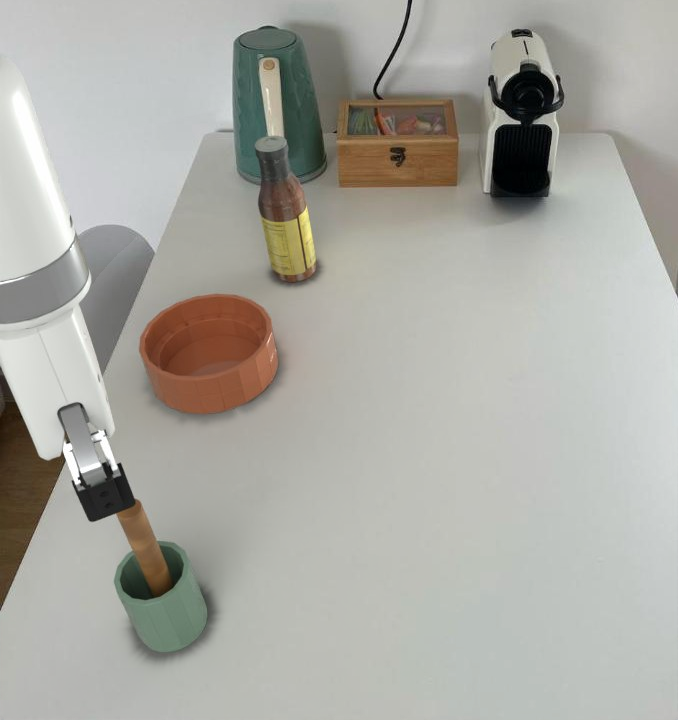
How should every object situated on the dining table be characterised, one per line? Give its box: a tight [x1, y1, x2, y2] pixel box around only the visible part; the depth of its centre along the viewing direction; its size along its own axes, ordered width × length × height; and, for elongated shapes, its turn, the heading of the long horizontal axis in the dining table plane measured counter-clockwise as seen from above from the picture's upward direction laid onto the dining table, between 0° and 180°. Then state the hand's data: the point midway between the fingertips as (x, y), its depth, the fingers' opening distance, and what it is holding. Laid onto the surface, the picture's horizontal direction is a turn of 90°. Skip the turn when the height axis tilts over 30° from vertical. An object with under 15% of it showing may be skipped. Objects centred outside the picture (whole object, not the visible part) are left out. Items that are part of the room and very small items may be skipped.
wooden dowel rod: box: [115, 498, 175, 598], centre depth 68 cm, size 3×2×16 cm, turn 118°
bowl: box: [138, 293, 279, 415], centre depth 96 cm, size 15×15×6 cm
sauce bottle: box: [254, 135, 317, 283], centre depth 106 cm, size 6×6×20 cm
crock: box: [113, 540, 208, 653], centre depth 71 cm, size 6×6×8 cm
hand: (96, 463), depth 59 cm, fingers open, 9 cm apart
